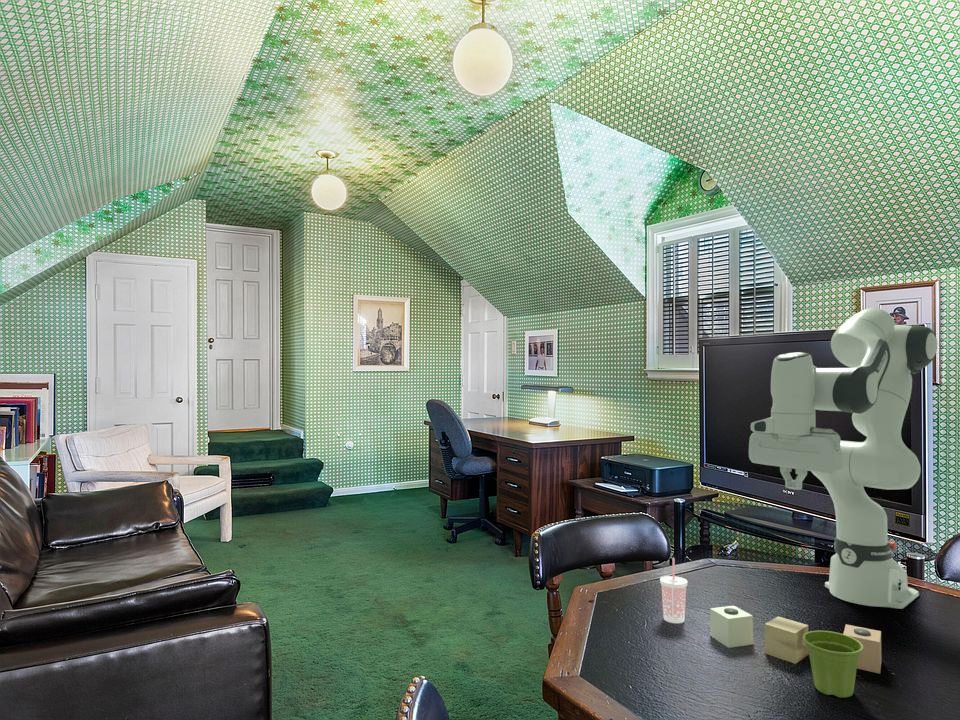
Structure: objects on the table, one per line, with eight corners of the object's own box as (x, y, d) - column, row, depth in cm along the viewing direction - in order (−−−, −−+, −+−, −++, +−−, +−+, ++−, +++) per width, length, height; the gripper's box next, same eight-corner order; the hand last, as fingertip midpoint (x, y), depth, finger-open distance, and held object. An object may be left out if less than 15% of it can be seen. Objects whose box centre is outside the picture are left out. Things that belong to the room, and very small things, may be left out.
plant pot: (834, 707, 106) (833, 655, 107) (791, 681, 115) (791, 633, 116) (877, 698, 109) (876, 648, 109) (832, 674, 118) (831, 627, 118)
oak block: (778, 645, 131) (778, 616, 131) (808, 655, 126) (808, 625, 126) (764, 653, 127) (764, 623, 127) (795, 664, 122) (795, 633, 122)
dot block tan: (846, 654, 127) (845, 622, 127) (881, 662, 123) (880, 629, 123) (843, 665, 122) (843, 633, 122) (880, 674, 118) (879, 640, 118)
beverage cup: (689, 616, 146) (689, 556, 146) (686, 626, 140) (685, 563, 140) (662, 612, 148) (661, 553, 149) (658, 621, 143) (657, 560, 143)
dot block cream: (734, 633, 137) (733, 604, 137) (753, 644, 131) (752, 614, 131) (710, 636, 135) (710, 606, 135) (728, 648, 129) (728, 617, 130)
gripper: (848, 428, 131) (849, 495, 131) (761, 422, 149) (762, 480, 149) (831, 430, 128) (831, 498, 128) (744, 423, 146) (744, 483, 145)
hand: (793, 488), depth 138 cm, fingers closed
